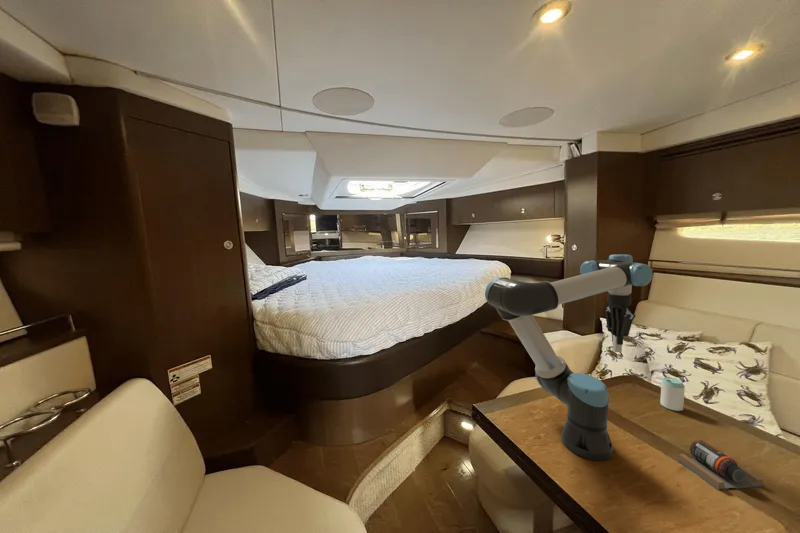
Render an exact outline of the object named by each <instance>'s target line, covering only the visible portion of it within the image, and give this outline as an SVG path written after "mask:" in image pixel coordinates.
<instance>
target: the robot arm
mask: <svg viewBox="0 0 800 533" xmlns="http://www.w3.org/2000/svg"><path fill="white" fill-rule="evenodd" d="M579 270H580V271H579V272H580V274H579V275H575V276H571V277H568V278H567V277H566V278H563V279H559V280H556V281H551V282H549V281H547V280H544V281H538V282H526V281H521V280H515V279H510V278H508V277H504V276H503V277H496V278H494V279H491V281H490V282H489V283H488V284H487V285H486V288H485V292H484V296H485V297H484V298H485V299H486V302H487V303H488V304H489V306H491V307H494V308H495V309H496V311H497V313H498V314H499V316H500V317H501V319H502V320H504V321H507V322H508V323H509V324H510V326H511V327H512V329H513V331H514V332H515V334H516V335H517V337H518V339H519V341H520V342H521V344H522V345H523V347H524V349H525V350H526V352H527V353H528V355H529V356H530V358H531V359H532V361H533V363H534V365H535V368H534V372H535V379H536V381H537V383H538V385H539V386H541V388H542V389H543V390H545V392H548V393H549V394H551V395H552V396H553V397H555V398H556V399H557V400H559V401H560V402H561V403H563V404H564V405H565V406H566V407H567V410H566V412H567V415H566V416H567V417H566V420H565V422H564V425H563V427H562V429H561V431H560V440H561V442H562V444H563V445H564V447H566V448H567V449H568V450H569V451H570V452H572V453H573V454H576V455H577V456H580V457H582V458H584V459H587V460H592V461H607V460H609V459H611V458H612V456H613V452H614V450H613V443H612V440H611V438H610V434H609V431H608V419H609V418H608V414H609V400H610V396H609V390H608V387H607V386H606V384H605V383H604V382H603V381H601V379H599V378H598V377H595V376H593V375H589V374H587V373H583V372H574V371H572V370H571V369H570V367H569V366H568V364H567V362H566V361H565V359H564V358H563V357H561V356H559V355H557V354H556V352H555V351H554V349H553V347H552V345H551V343H550V342H549V340H548V339H547V337H546V336H545V334H544V333H543V330H542V329H541V327H540V325H539V324H538V322H537V320H536V319H535V317H534V315H538V314H543V313H547V312H550V311H553V310H557V308H558V307H559V305H560V306H561V305H562V304H563V305H564V304H566V303H569V302H574V301H578V300H581V299H585V298H588V297H591V296H595V295H598V294H602V293H606V292H607V296H606V297H607V300H606V301H607V303H608V306H607V307H603V311H604V315H605V321H606V326H607V328H606V330H607V331H608V332H610V334H611V342H612V345H611V346H612V348H611V350H612V352H614V353H622V352H623V344H624V337H629V335H630V332H631V328H632V325H633V320H634V319H636V314H635V313H633V314H632V312H631V310H630V305H631V304H632V289H633V288H632V286H635V287H645V286H647V285H648V284H650V282H651V281H652V280H653V276H654V274H653V269H652V268H651V266H650V265H648V264H645V263H639V262H634V261H633V256H632V255H631V254H610V255H609V256H608V259H607V260H601V259H600V260H587V261H584V262H583V263H581V265H580V268H579Z"/></svg>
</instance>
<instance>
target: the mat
mask: <svg viewBox="0 0 800 533" xmlns="http://www.w3.org/2000/svg"><path fill="white" fill-rule="evenodd" d="M677 461H678V462H679V463H680V464H682V465H684V467H686V468H687V469H689V470H690V471H691V472H692V473H694V474H695V475H697V476H698V477H699V476H700V477H699V478H701V479H702V478H703V479H702V480H704V481H705V482H706V483H707V484H709V485H711V487H713V488H714V489H715V490H716V491H717V490H718V491H719V490H720V489H723V490H730V489H729V488H736V489H746V488H758V487H759V488H760V487H764V479H763V478H762V477H761V476H759V475H757V474H755V473H754V472H753V471H750V470H749V469H748V468H746V467H744V466H742V465H741V464H739V463H738V462H736V463H737V464H738V467H740V468H741V469H743V470H744V471H745V473H746V476H745V478H744V480H743V481H741V482H736V481H734V480H733V479H731V478H726V477H723V476H721V475H720V474H718V473H717V472H715V471H714V470H712V469H711V468H710V467H708V466H707V465H705V464H704V463H702V462H701V461H699V460H698V459H697V458H695V457H694V458H691V457H689V456H687V455H686V454H684V453H679V454H678V460H677ZM720 491H721V490H720Z"/></svg>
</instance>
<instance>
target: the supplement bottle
mask: <svg viewBox="0 0 800 533" xmlns="http://www.w3.org/2000/svg"><path fill="white" fill-rule="evenodd" d="M689 453H690V454H691V456H693V457H694V458H697V459H698V460H699V461H701V462H702V463H704V464H705V465H707V466H708V467H710V468H711V469H712V470H714V471H715V472H717V473H718V474H720V475H721V476H723V477H726V478H731V479H733V480H734V481H736V482H741V481H743V480H744V478H745V476H746V473H745V471H744V470H743V469H741V468H740V467H738V464H739V463H738V462H737V461H736V460H734V459H733V458H731V457H730V456H728V455H727V454H725V453H723V452H722V451H720V450H719V449H717V448H715V447H714V446H712V445H710V443H707V441H705V440H701V439H699V440H697V439H696V440H694V441H693V442H692V443H691V444H690V446H689ZM737 463H738V464H737Z"/></svg>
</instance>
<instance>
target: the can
mask: <svg viewBox="0 0 800 533" xmlns="http://www.w3.org/2000/svg"><path fill="white" fill-rule="evenodd" d="M660 384H661V385H660V402H659V403H660V405H661V406H662V407H664V409H666V410H669V411H673V412H680V411H684V406H685V405H684V404H685V402H684V401H685V390H686V388H685V385H684V382H683V381H682V380H680V379H678V378H675V377H671V376H665V377H663V379H662V380H661V383H660Z"/></svg>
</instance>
